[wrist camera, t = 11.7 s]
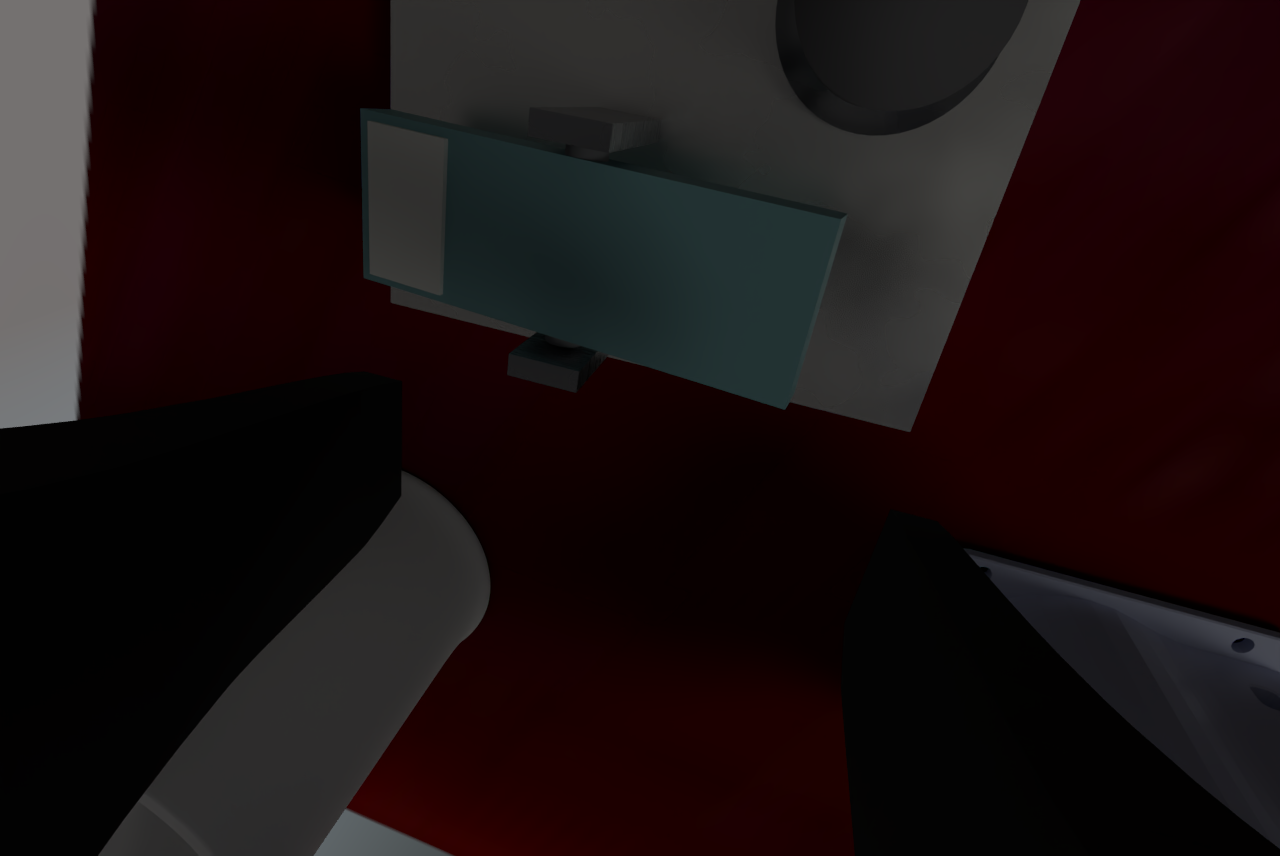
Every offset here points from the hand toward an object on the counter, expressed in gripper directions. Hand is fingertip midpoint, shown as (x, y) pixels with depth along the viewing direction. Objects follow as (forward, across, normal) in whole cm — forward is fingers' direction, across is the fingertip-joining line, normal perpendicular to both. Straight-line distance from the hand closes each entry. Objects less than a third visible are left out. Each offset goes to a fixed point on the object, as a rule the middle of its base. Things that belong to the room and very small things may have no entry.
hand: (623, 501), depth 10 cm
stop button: (+7, -2, -7) cm, 11 cm away
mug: (+11, +12, +12) cm, 20 cm away
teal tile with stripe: (+6, +3, -2) cm, 7 cm away
